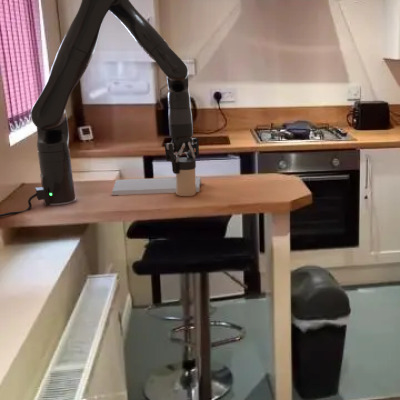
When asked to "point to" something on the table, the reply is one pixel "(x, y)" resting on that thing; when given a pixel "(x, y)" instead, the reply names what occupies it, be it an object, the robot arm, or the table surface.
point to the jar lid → (187, 163)
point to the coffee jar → (186, 182)
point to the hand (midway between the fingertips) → (184, 171)
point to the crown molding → (148, 186)
